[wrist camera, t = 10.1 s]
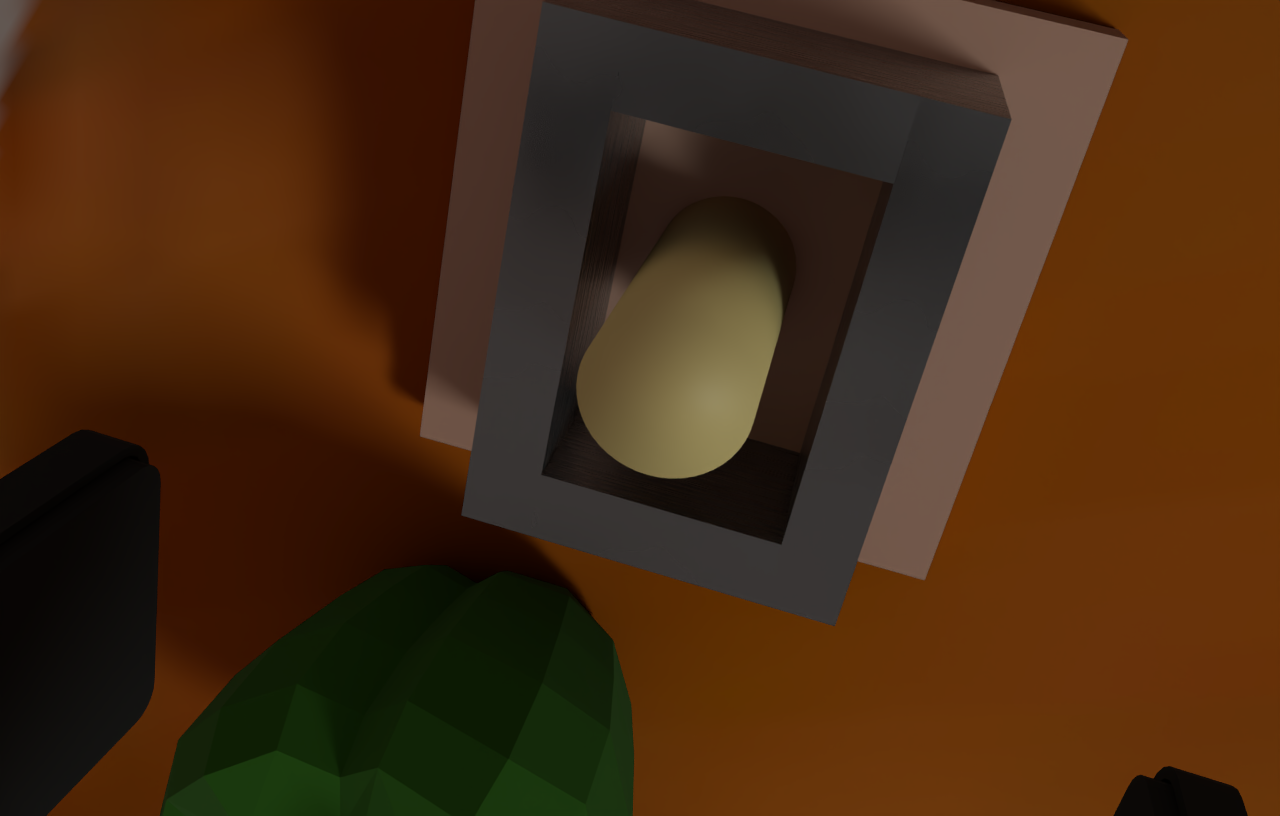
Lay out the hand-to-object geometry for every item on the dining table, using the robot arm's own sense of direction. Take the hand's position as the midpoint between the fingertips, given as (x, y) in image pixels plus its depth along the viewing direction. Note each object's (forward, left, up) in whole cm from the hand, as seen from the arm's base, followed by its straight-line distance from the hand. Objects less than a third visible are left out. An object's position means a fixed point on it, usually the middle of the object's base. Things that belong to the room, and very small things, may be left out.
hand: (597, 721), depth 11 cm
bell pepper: (-10, +4, -12) cm, 16 cm away
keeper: (+1, +1, -12) cm, 12 cm away
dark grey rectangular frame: (+1, 0, -11) cm, 11 cm away
